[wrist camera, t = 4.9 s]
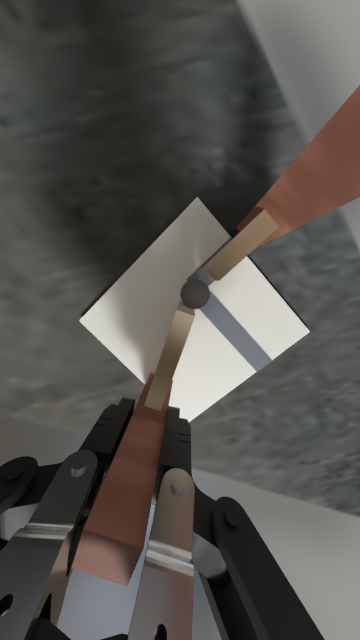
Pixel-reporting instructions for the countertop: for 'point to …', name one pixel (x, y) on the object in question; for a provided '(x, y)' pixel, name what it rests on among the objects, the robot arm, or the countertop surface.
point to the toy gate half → (133, 473)
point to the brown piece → (294, 196)
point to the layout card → (209, 323)
